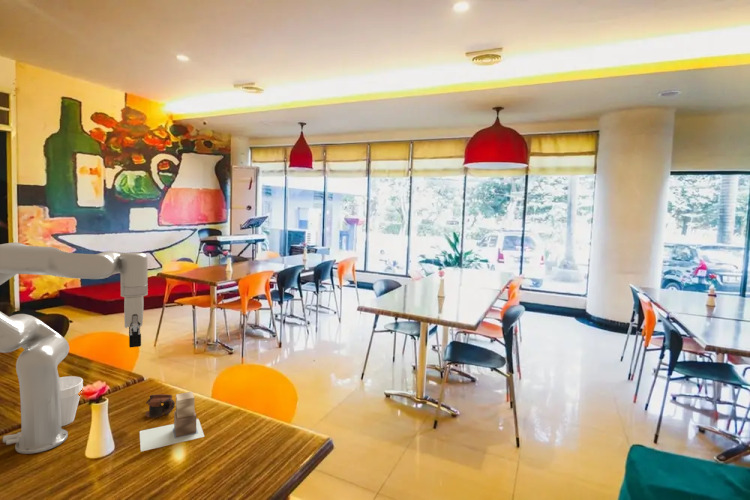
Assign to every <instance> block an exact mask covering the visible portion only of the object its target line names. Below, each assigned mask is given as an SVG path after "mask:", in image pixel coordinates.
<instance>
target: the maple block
mask: <svg viewBox="0 0 750 500" xmlns="http://www.w3.org/2000/svg"><path fill="white" fill-rule="evenodd" d="M194 410H195V395H194V392H193V391H189V392H188V391H187V392H181V393H177V394H175V411H176V414H177V418H183V417H188V416H192V415H194Z"/></svg>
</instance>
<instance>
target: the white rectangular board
mask: <svg viewBox="0 0 750 500" xmlns="http://www.w3.org/2000/svg"><path fill="white" fill-rule="evenodd" d="M204 437H205V434H204V431H203V427H202V424H201V422H200V420H199V418H196V433H193V434H189V435H185V436H180V437H176V434H175V429H174V423H172V424H166V425H161V426H158V427H152V428H147V429H143V430H140V431H139V444H140V452H144V451H149V450H153V449H154V450H155V449H158V448H162V447H163V448H164V447H165V446H171V445H175V444H178V443H183V442H188V441H192V440H196V439H200V438H204Z"/></svg>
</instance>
